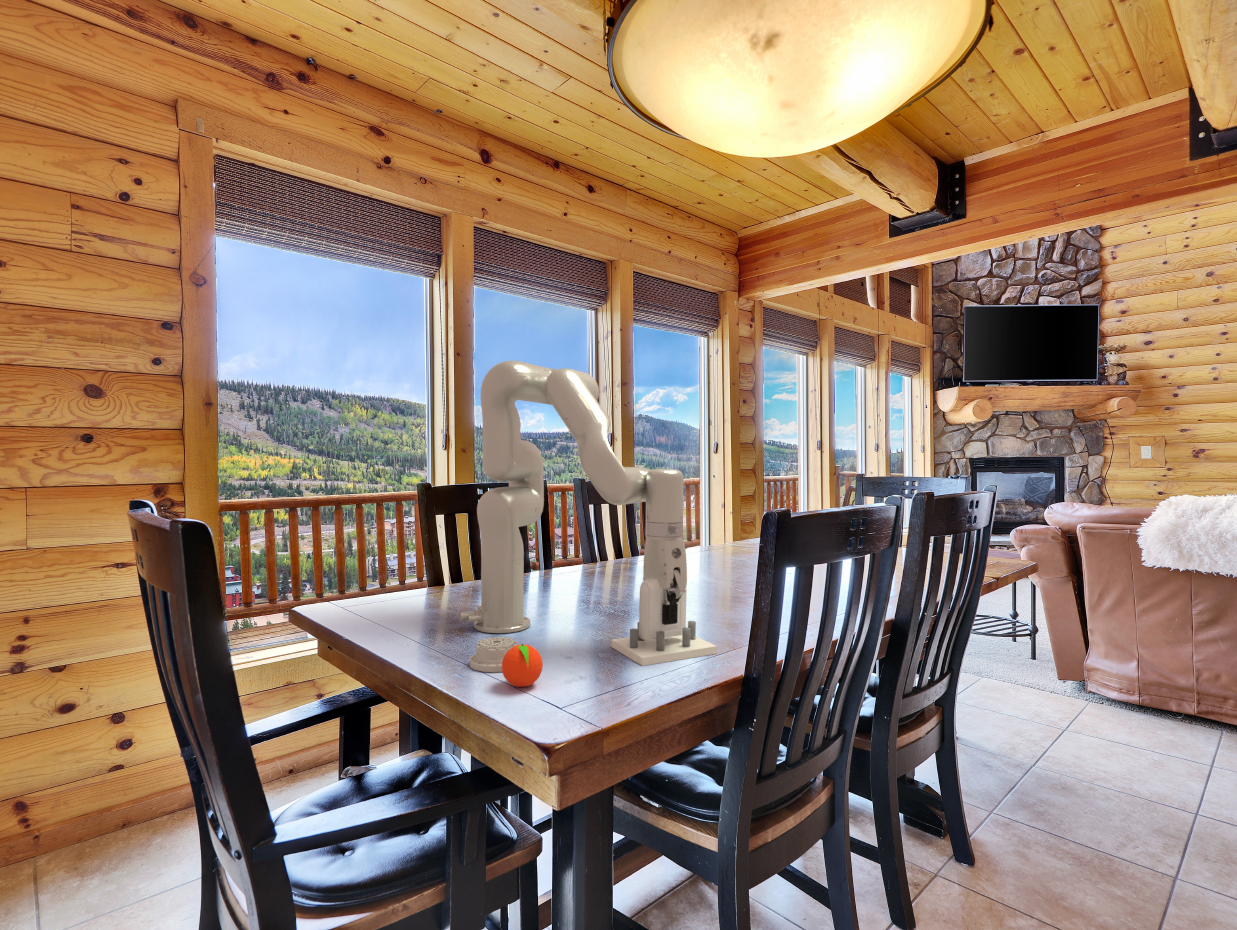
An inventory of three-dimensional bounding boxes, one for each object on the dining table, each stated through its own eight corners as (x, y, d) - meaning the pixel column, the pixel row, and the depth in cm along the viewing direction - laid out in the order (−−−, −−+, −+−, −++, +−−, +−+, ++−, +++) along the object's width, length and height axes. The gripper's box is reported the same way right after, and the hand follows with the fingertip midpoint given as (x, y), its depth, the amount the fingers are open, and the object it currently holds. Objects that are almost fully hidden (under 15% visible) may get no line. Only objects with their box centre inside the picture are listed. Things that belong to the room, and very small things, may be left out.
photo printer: (675, 630, 135) (676, 571, 135) (689, 635, 131) (690, 574, 131) (635, 637, 129) (636, 576, 129) (647, 643, 126) (648, 579, 126)
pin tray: (642, 665, 121) (642, 639, 121) (611, 647, 132) (611, 622, 132) (716, 653, 129) (717, 628, 128) (681, 636, 140) (681, 613, 140)
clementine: (548, 692, 107) (549, 650, 107) (506, 697, 105) (507, 654, 104) (537, 676, 115) (537, 636, 114) (498, 681, 112) (498, 640, 112)
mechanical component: (457, 667, 120) (497, 678, 114) (458, 643, 120) (498, 653, 114) (495, 653, 128) (534, 663, 123) (495, 631, 128) (534, 639, 123)
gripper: (703, 534, 124) (702, 629, 125) (658, 525, 139) (657, 609, 140) (670, 536, 121) (668, 633, 121) (627, 526, 136) (626, 612, 136)
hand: (662, 619), depth 130 cm, fingers closed on photo printer, 4 cm apart
